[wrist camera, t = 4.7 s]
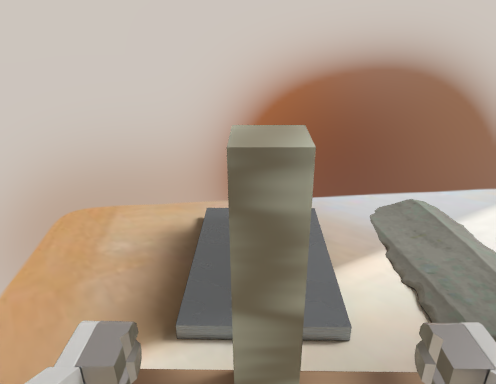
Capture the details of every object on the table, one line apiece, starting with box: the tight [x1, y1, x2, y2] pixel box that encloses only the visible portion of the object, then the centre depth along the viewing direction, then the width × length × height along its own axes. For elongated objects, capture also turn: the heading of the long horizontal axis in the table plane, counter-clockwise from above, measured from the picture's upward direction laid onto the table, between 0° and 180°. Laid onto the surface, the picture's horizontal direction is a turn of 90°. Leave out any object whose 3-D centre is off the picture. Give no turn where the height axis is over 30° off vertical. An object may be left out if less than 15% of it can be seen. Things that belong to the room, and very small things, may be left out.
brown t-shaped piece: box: [132, 125, 425, 384], centre depth 17 cm, size 24×3×16 cm, turn 89°
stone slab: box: [370, 199, 496, 342], centre depth 35 cm, size 22×3×10 cm
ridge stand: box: [176, 208, 351, 340], centre depth 33 cm, size 12×18×8 cm, turn 179°
